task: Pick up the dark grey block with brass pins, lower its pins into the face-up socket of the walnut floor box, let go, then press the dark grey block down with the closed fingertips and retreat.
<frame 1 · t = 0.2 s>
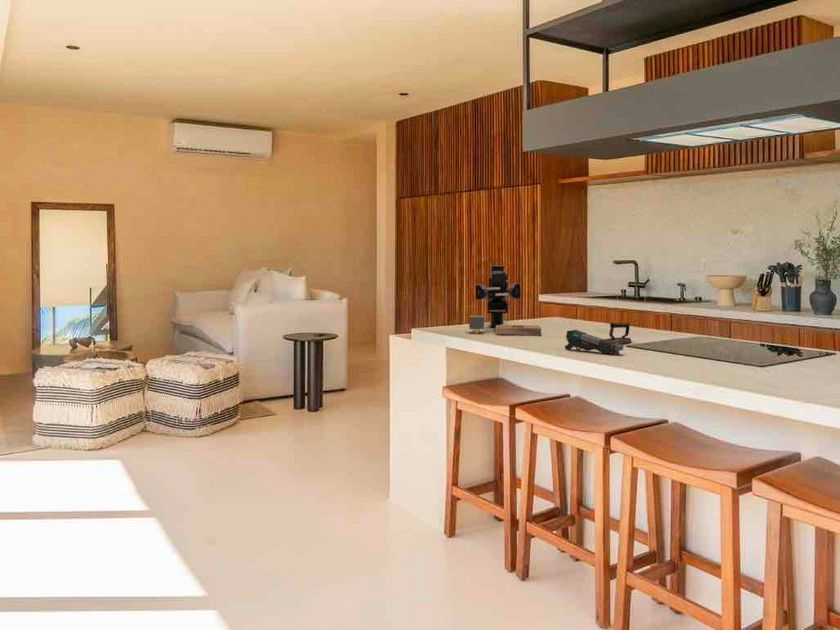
hand: (498, 293, 299), 17 cm above the table, tool horizontal, fingers open, 9 cm apart
dark grey block: (476, 333, 303), on the table
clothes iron: (620, 344, 272), on the table
socket box: (517, 333, 300), on the table
gun: (592, 353, 251), on the table
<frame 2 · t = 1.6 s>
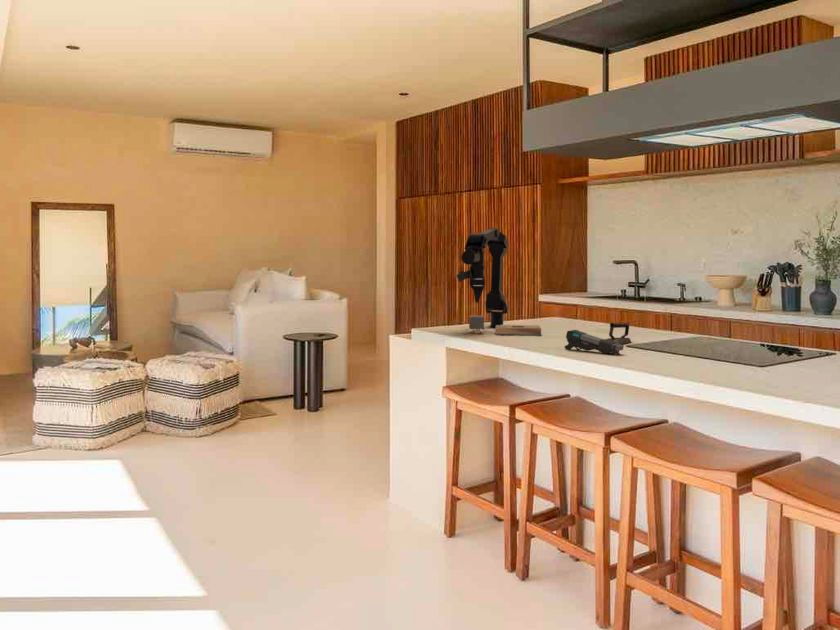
hand: (476, 301, 302), 13 cm above the table, tool pointing down, fingers open, 9 cm apart
nothing on the table moved.
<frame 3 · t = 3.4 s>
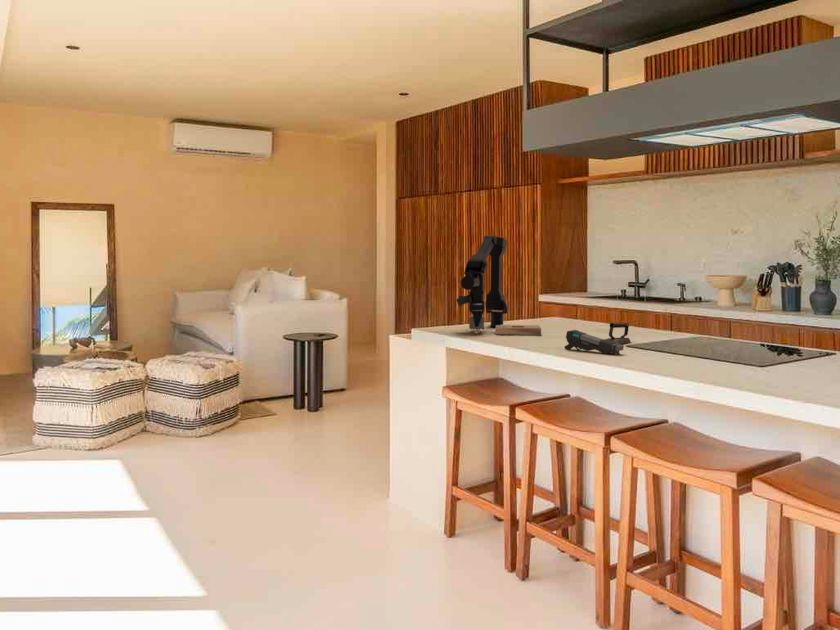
hand: (476, 325, 303), 3 cm above the table, tool pointing down, fingers closed on dark grey block, 6 cm apart
dark grey block: (476, 333, 303), on the table, touching gripper
everything else where it was.
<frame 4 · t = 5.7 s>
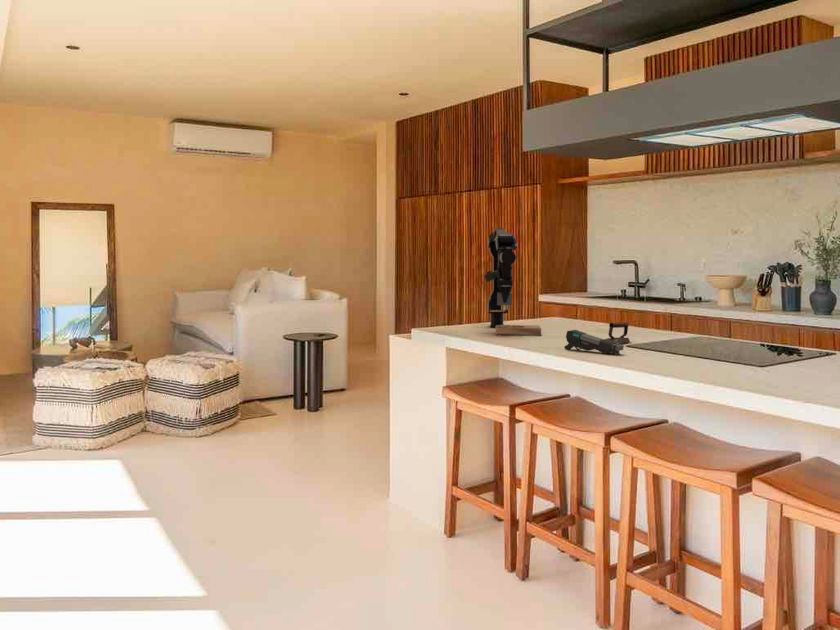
hand: (504, 302, 300), 13 cm above the table, tool pointing down, fingers closed on dark grey block, 6 cm apart
dark grey block: (504, 309, 300), point 10 cm above the table, touching gripper
everything else where it was.
when the fingers open (4 cm above the table, at t = 7.8 s): dark grey block stays where it is, resting on socket box.
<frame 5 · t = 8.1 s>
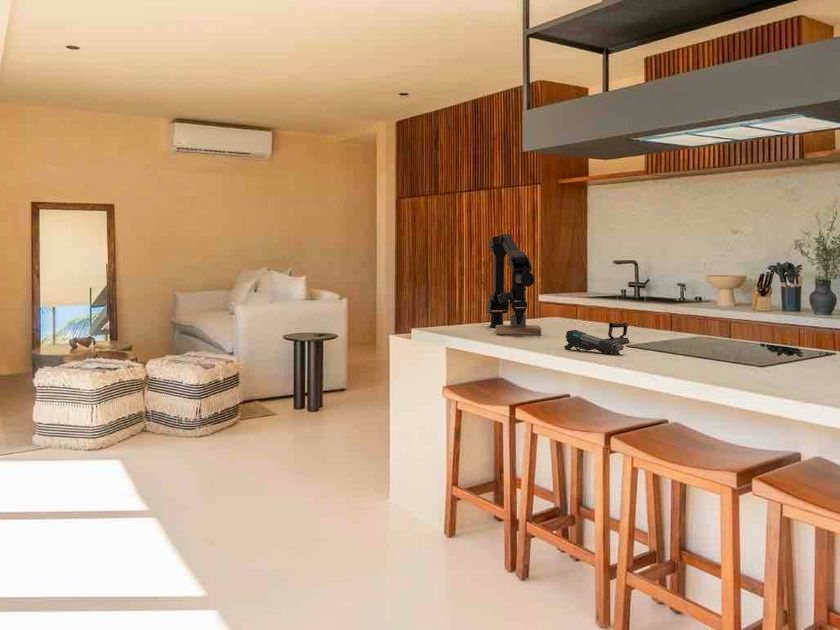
hand: (517, 323, 300), 4 cm above the table, tool pointing down, fingers open, 9 cm apart
dark grey block: (517, 331, 300), point 1 cm above the table, touching socket box
everything else where it was.
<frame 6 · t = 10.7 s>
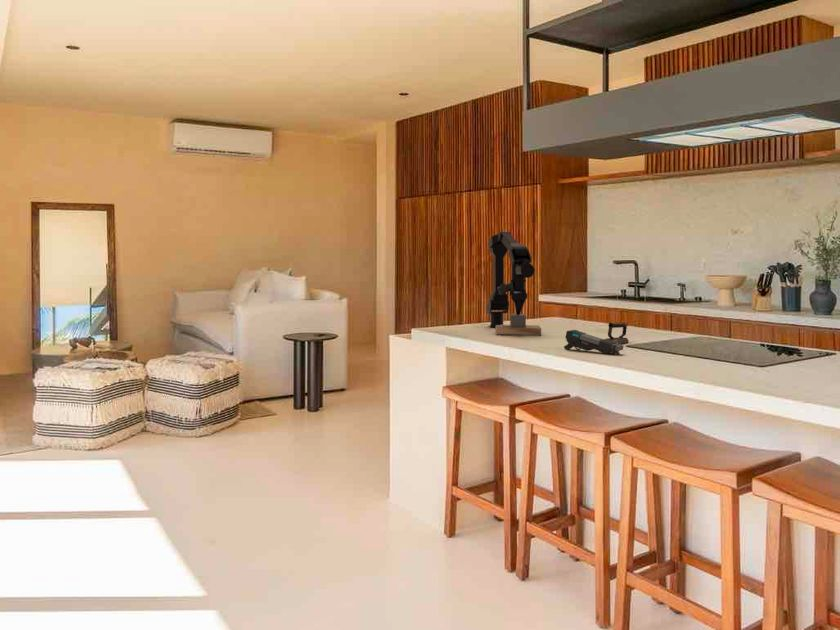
hand: (518, 314, 299), 8 cm above the table, tool pointing down, fingers closed, pressing on dark grey block
dark grey block: (517, 331, 300), point 1 cm above the table, touching gripper, socket box
everything else where it was.
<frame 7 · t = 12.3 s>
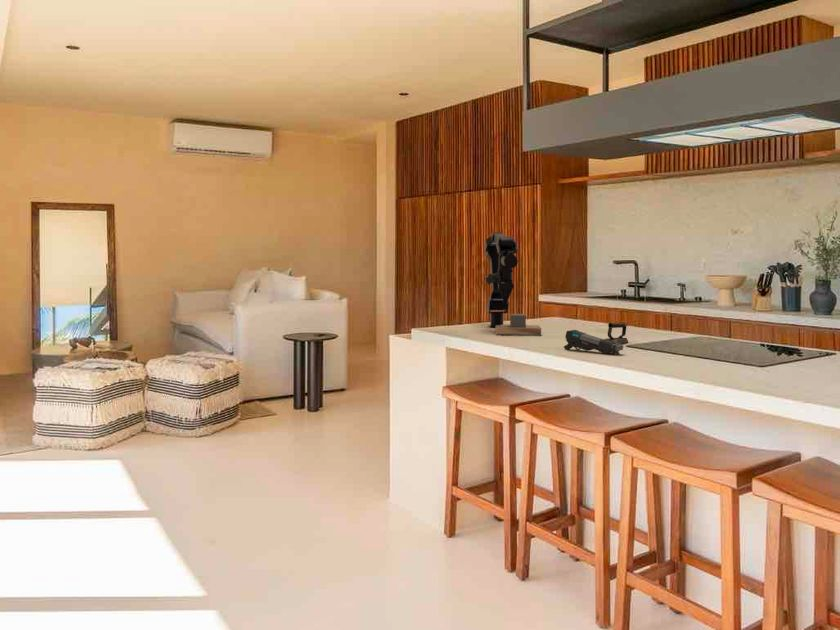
hand: (505, 304, 308), 12 cm above the table, tool pointing down, fingers closed
dark grey block: (517, 331, 300), point 1 cm above the table, touching socket box
everything else where it was.
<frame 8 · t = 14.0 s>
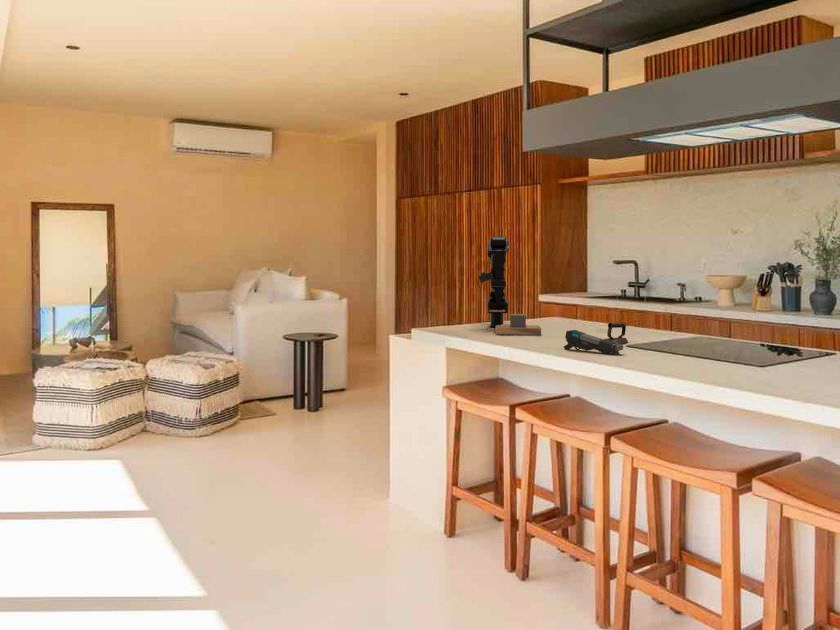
hand: (497, 302, 312), 12 cm above the table, tool pointing down, fingers closed
at the end: dark grey block 0.1 cm off-centre on the socket box, point 1.0 cm above the socket box's base; dark grey block tilted 0°; the gripper is holding nothing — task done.
